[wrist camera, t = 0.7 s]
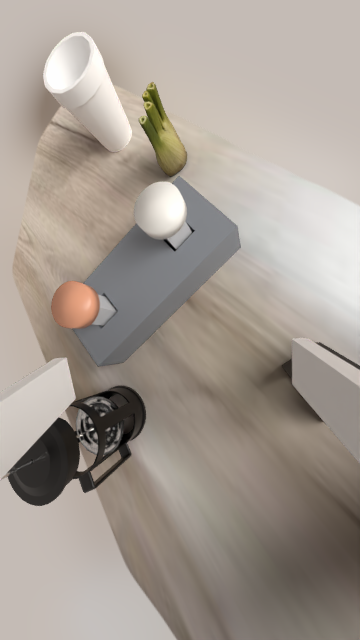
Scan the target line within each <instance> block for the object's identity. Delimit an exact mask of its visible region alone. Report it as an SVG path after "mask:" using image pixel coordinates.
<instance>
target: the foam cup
mask: <svg viewBox="0 0 360 640" xmlns="http://www.w3.org/2000/svg"><path fill="white" fill-rule="evenodd" d="M43 77H44V83H45V87H46V88H47V89H48V90H49V92H50V93H51V94H52V95H53V96H54V98H55V99H56V100H57V101H58V102H59V103H60V104H61V105H62V106H63V107H64V108H66V109H67V110H68V111H69V112H70V113H71V114H72V115H73V116H74V117H75V118H76V119H77V120H78V121H79V122H80V123H81V124H82V125H83V126H84V127H85V128H86V129H87V130H88V131H89V132H90V133H91V134H92V135H93V136H94V137H95V138H96V139H97V140H98V141H99V142H100V143H101V144H102V145H103V146H104V147H105V148H106V149H108V150H109V151H110V152H118V151H121V150H122V149H123V148H125V147H126V146H127V144H128V143H129V141H130V139H131V134H132V131H131V127H130V125H129V122H128V119H127V117H126V115H125V112H124V110H123V108H122V105H121V103H120V101H119V98H118V96H117V94H116V91H115V89H114V87H113V84H112V82H111V80H110V77H109V75H108V73H107V71H106V68H105V66H104V63H103V59H102V56H101V54H100V53H99V50H98V48H97V47H96V45H95V43H94V41H93V39H92V38H91V37H90V36H89V35H87V34H86V33H85V32H75V33H72V34H70V35H69V36H67V37H65V38H63V39H62V40H61V41H60V42H59V43H58V45H56V47H55V48H54V49H53V50H52V52H51V54H50V56H49V58H48V59H47V61H46V65H45V69H44V74H43Z"/></svg>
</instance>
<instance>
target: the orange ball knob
mask: <svg viewBox="0 0 360 640" xmlns="http://www.w3.org/2000/svg"><path fill="white" fill-rule="evenodd" d="M51 309H52V314H53V317H54V319H55V321H56V322H57V323H58V324H59V325H60V326H62V327H65V328H76V329H82V328H86V327H88V326H90V325H91V324H92V325H102V326H104V325H105V324H106V323H107V322H108V321H109V320H110V319H111V318H112V317H113V316H114V315H115V314H116V313H117V312H118V310H117V309H116V307H115V306H114V305H113V304H112V302H111V301H110V300H109V298H108V297H105V296H101V295H98V294H97V292H96V291H95V290H94V289H93V288H92V287H91V286H88V285H85V284H82V283H79V282H76V281H68V282H66V283H64V284H62V285H61V286H60V287H59V288H58V289H57V290H56V292H55V294H54V296H53V299H52V305H51Z"/></svg>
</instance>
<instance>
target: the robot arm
mask: <svg viewBox="0 0 360 640" xmlns="http://www.w3.org/2000/svg"><path fill="white" fill-rule="evenodd" d="M292 385H293V386H294V387H295V388H296V389H297V391H298V392H299V393H300V394H301V395H302V397H303V398H304V399H305V400H306V401H307V402H308V404H309V405H310V406H311V407H312V408H313V409H314V411H315V412H316V413H317V414H318V415H319V416H320V418H321V419H322V420H323V421H324V422H325V424H326V425H327V426H328V427H329V428H330V429H331V431H332V432H333V433H334V434H335V435H336V436H337V438H338V439H339V440H340V441H341V442H342V444H343V445H344V446H345V447H346V448H347V449H348V451H349V452H350V453H351V454H352V455H353V456H354V458H355V459H356V460H357V461H358V462H359V464H360V370H359V369H357V368H356V367H354V366H352V365H351V364H349V363H347V362H346V361H344V360H342V359H341V358H339V357H337V356H336V355H334V354H332V353H331V352H329V351H327V350H326V349H324V348H323V347H321V346H319V345H318V344H316V343H314V342H313V341H311V340H309V339H308V338H295V339H292ZM75 399H76V397H75V393H74V388H73V384H72V379H71V375H70V370H69V366H68V361H67V357H65V358H54V359H53V360H51V361H50V362H48V363H46V364H45V365H43V366H42V367H40V368H38V369H37V370H35V371H34V372H32V373H30V374H29V375H27V376H26V377H24V378H22V379H21V380H19V381H18V382H16V383H14V384H13V385H11V386H10V387H8V388H7V389H5V390H3V391H2V392H0V480H1V479H2V478H3V476H4V475H5V474H6V473H7V472H8V471H9V470H10V469H11V468H12V467H13V466H14V465H15V464H16V462H17V461H18V460H19V459H20V458H21V457H22V456H23V455H24V454H25V453H26V452H27V451H28V450H29V448H30V447H31V446H32V445H33V444H34V443H35V442H36V441H37V440H38V439H39V438H40V437H41V436H42V434H43V433H44V432H45V431H46V430H47V429H48V428H49V427H50V426H51V425H52V424H53V423H54V422H55V420H56V419H57V418H58V417H59V416H60V415H61V414H62V413H63V412H64V411H65V410H66V409H67V408H68V406H69V405H70V404H71V403H72V402H73V401H74V400H75Z"/></svg>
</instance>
